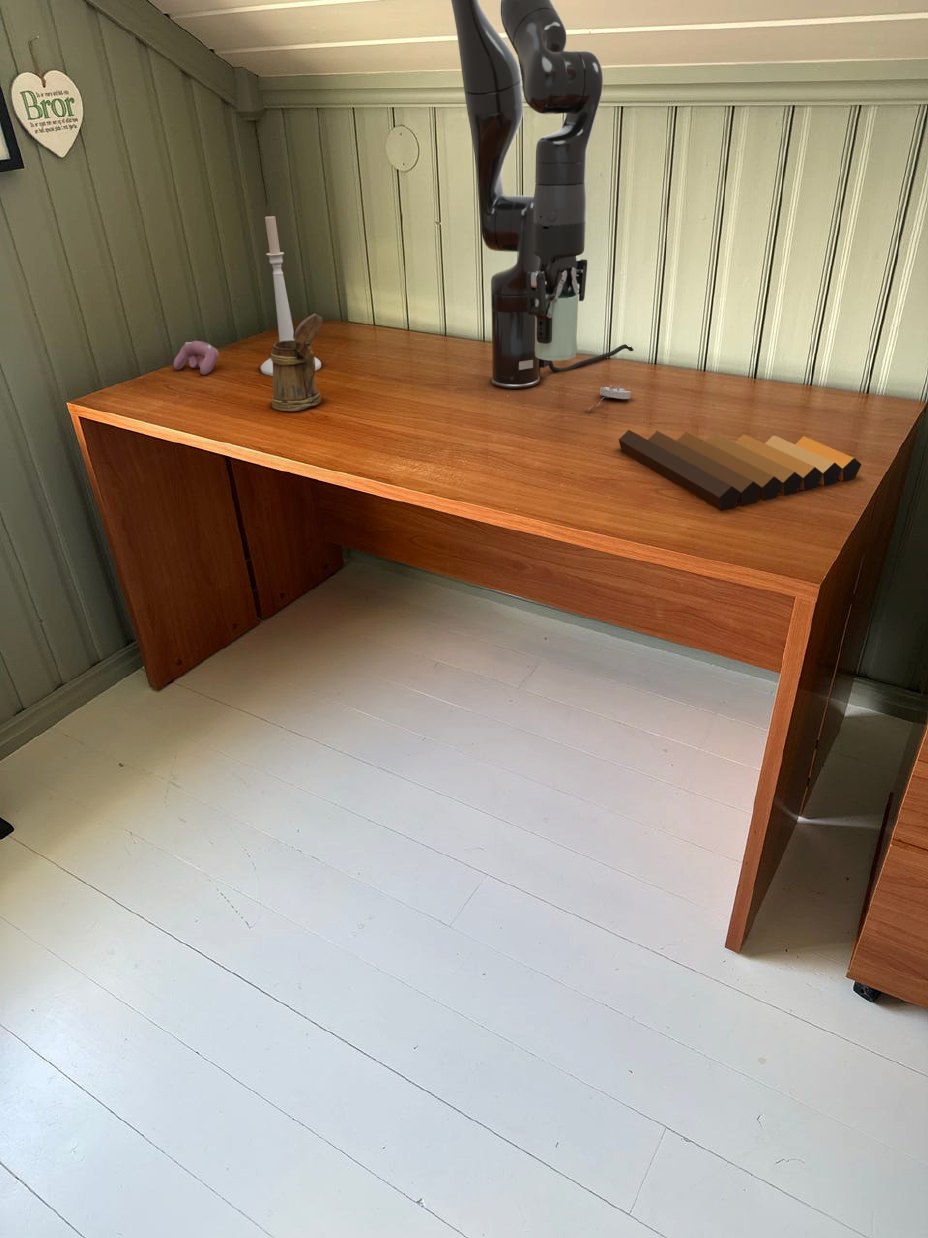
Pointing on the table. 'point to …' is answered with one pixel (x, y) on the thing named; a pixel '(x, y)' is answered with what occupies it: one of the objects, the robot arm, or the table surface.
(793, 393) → the table surface
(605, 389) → the game controller
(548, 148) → the robot arm
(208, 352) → the video game controller
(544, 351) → the cup
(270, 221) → the candlestick
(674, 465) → the pan flute
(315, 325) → the wooden mug
